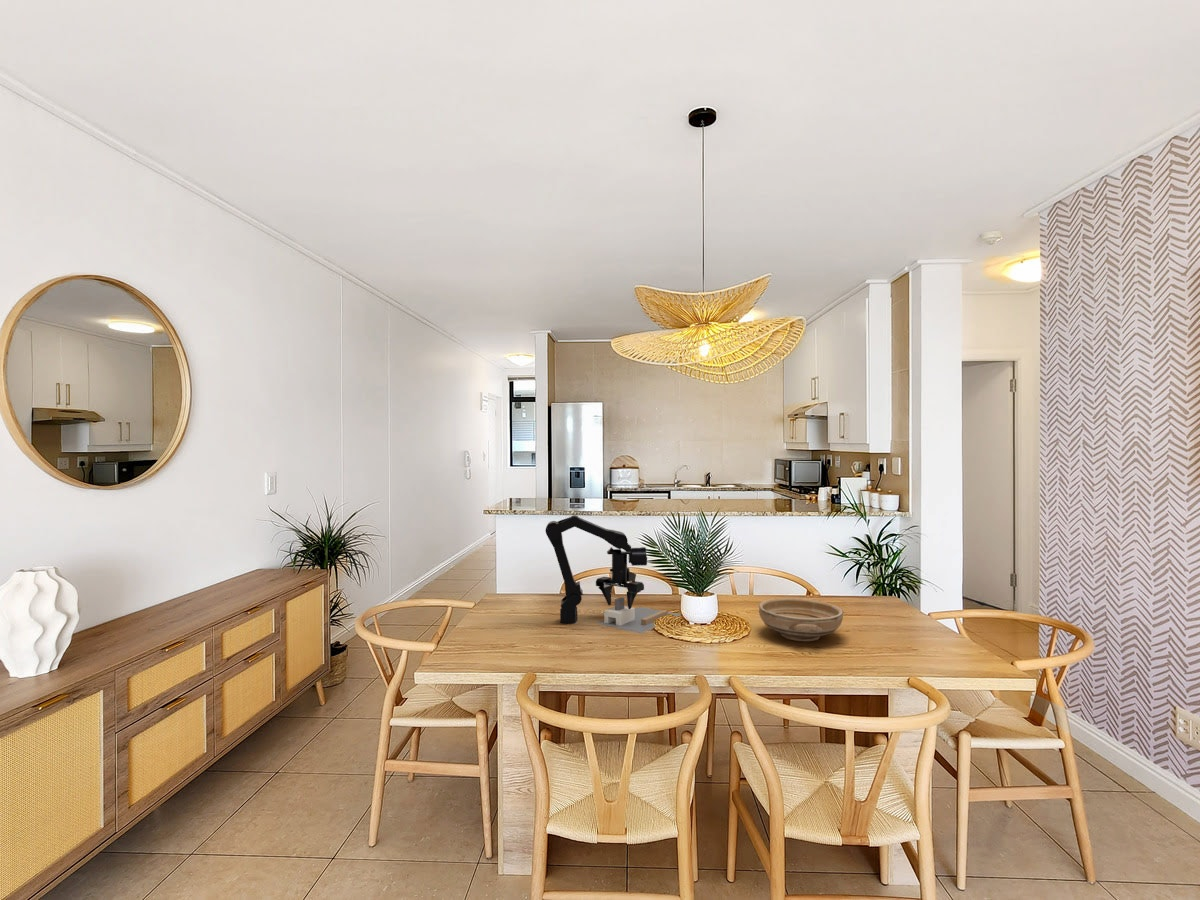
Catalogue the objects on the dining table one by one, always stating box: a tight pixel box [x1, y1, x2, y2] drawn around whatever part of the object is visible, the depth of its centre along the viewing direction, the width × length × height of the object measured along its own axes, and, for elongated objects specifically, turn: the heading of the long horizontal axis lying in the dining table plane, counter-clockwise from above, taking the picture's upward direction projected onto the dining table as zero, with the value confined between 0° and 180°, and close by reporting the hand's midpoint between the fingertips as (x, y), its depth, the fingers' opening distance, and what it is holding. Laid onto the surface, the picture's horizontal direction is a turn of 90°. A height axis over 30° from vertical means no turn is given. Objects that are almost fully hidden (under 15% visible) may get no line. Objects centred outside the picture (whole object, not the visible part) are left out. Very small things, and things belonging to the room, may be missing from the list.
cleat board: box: [596, 606, 682, 634], centre depth 234 cm, size 30×20×3 cm, turn 144°
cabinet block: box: [603, 596, 636, 626], centre depth 232 cm, size 10×7×8 cm
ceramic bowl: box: [758, 597, 844, 642], centre depth 216 cm, size 37×29×10 cm
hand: (619, 607), depth 232 cm, fingers open, 9 cm apart
